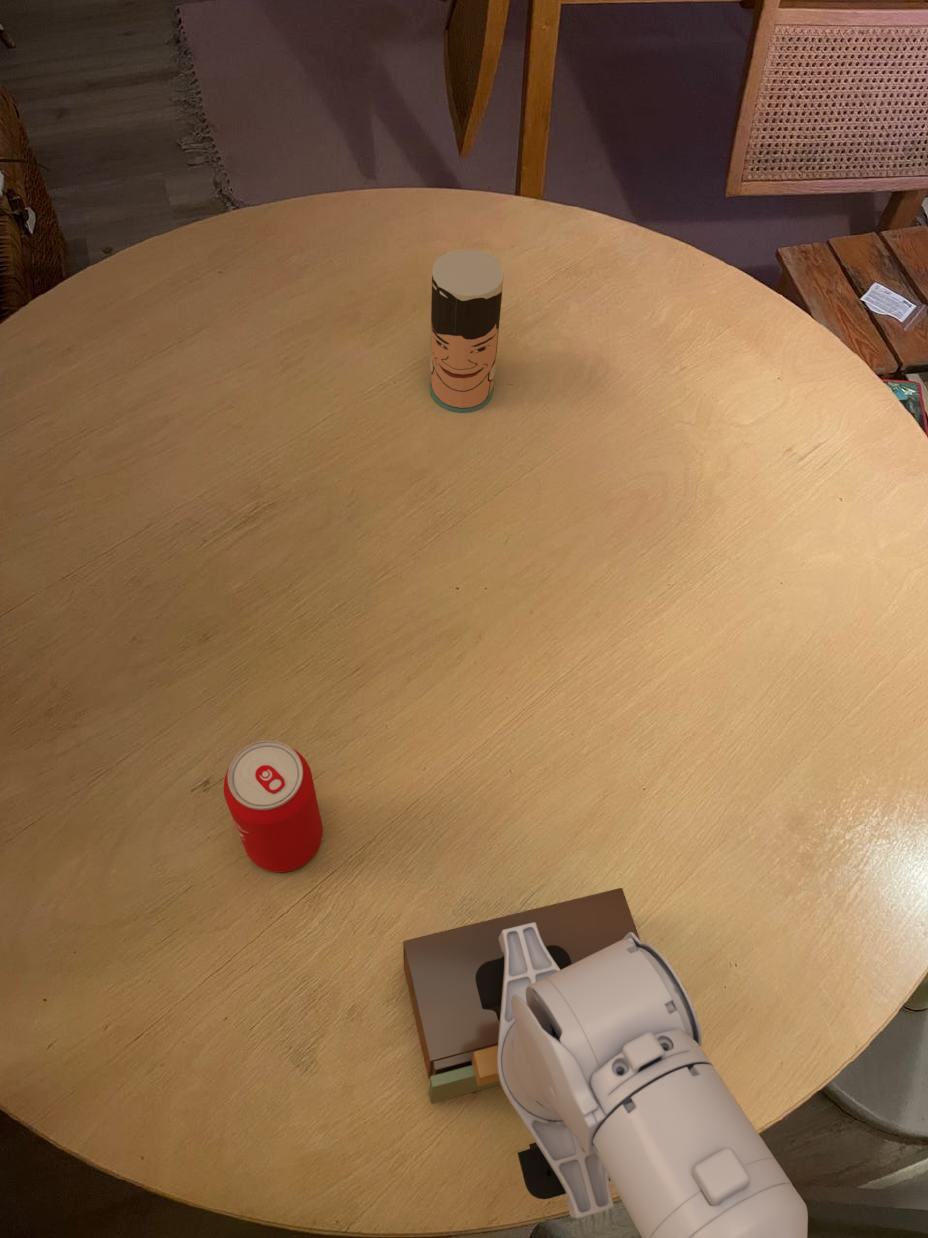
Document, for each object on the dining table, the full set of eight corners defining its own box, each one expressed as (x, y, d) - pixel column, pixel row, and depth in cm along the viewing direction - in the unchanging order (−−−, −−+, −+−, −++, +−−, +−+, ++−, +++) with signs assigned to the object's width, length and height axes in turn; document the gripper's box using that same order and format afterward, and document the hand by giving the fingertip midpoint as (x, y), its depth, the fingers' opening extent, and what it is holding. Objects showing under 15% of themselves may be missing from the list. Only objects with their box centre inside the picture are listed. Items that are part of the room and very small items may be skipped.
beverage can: (289, 785, 84) (272, 716, 74) (339, 838, 82) (329, 774, 72) (227, 836, 82) (201, 771, 72) (277, 892, 79) (257, 833, 69)
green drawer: (544, 1083, 72) (560, 1056, 64) (432, 1114, 71) (435, 1090, 63) (537, 1060, 73) (553, 1030, 65) (427, 1090, 72) (429, 1063, 64)
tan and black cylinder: (416, 392, 109) (417, 275, 97) (454, 358, 112) (460, 239, 100) (468, 422, 107) (476, 305, 95) (505, 385, 110) (517, 268, 98)
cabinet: (645, 1030, 75) (664, 1009, 69) (430, 1089, 72) (432, 1071, 67) (607, 915, 79) (622, 887, 74) (403, 966, 77) (402, 941, 71)
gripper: (694, 1192, 49) (630, 1190, 61) (601, 890, 55) (559, 942, 67) (551, 1235, 47) (514, 1224, 59) (473, 921, 54) (454, 968, 66)
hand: (531, 1076), depth 63 cm, fingers open, 7 cm apart
